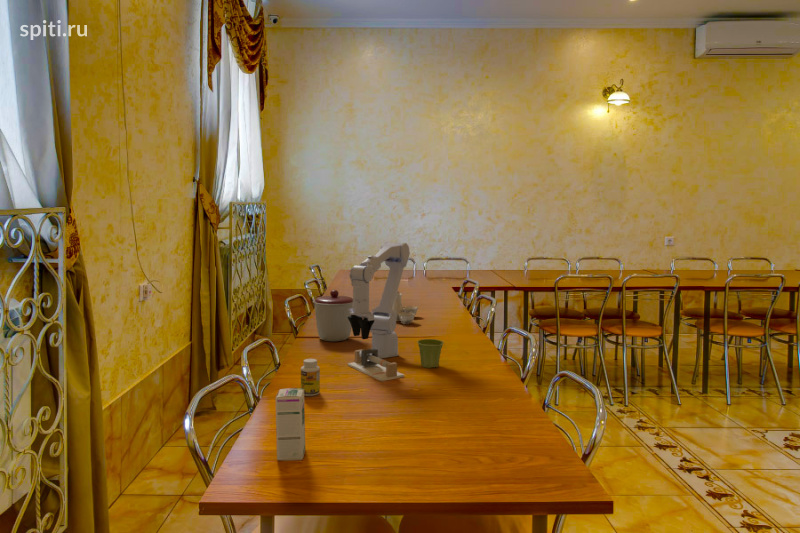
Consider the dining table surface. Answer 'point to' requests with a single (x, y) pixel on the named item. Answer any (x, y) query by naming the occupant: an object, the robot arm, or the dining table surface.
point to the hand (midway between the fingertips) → (360, 337)
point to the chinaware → (403, 310)
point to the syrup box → (290, 424)
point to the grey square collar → (364, 356)
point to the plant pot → (430, 352)
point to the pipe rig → (376, 367)
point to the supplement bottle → (310, 377)
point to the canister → (333, 316)
